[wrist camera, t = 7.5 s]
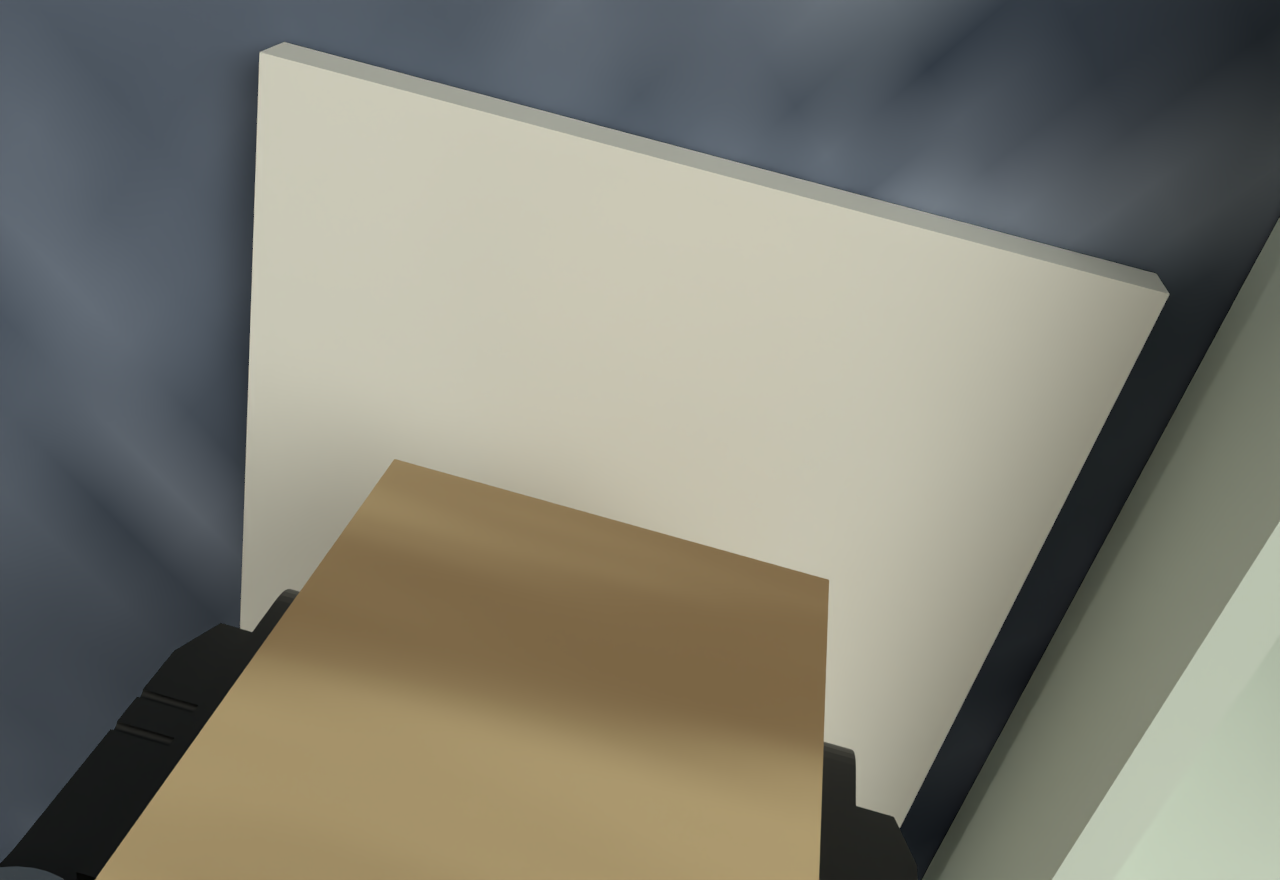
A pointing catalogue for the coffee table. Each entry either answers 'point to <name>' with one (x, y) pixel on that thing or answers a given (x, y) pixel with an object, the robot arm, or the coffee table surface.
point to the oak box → (509, 709)
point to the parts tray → (1160, 658)
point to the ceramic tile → (672, 368)
